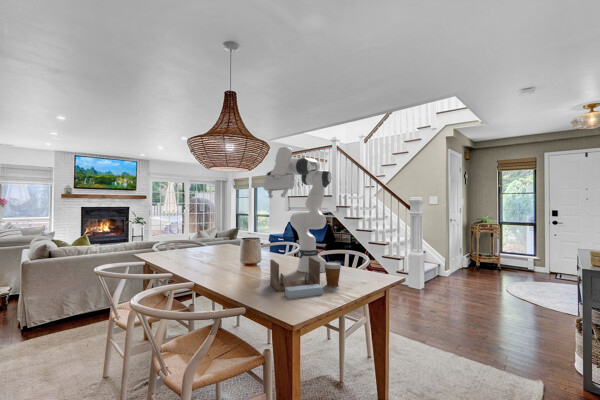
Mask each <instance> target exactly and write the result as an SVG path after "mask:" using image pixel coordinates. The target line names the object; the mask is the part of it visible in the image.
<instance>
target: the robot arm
mask: <svg viewBox="0 0 600 400" xmlns="http://www.w3.org/2000/svg"><path fill="white" fill-rule="evenodd" d="M292 151H293V150H292V149H291V148H290V147H286V146H284V147H280V148H278V149H277V152H276V156H275V160H274V161H275V164H274V166H273V169H271V170H270V171H268V172H266V173H265V177H266V178H264V182H263V189H264V191H266V192H267V194H268V199H273V194H272V193H273V192H274V191H282V193H281V195H280V197H281V198H286V194H287V193H288V191H289V190H293V189H294V187H295V176H301V177H300V178H301V179H300V180H301V182H302V184H303V185H304V186H305V185H306V186H312V187H311V189H310V190H309V192H308V194H307V198H306V201H305V203H304V205H305V208H306V209H307V212H301V211H300V212H296V213H292V214H291V216H290V218H289V222H290V225H291V226H292V228H293V229H294V230H295V231H296V232H297V236H298V243H299V249H298V264H297V268H296V270H297V272H300V273H304V272H307V273H309V257H311V258H313V259H315V260H317V261H319V262H320V273H324V272H325V266H324V265H325V263H326V262H327V261H326V259H324V258H323V257H322V256H321V255H319V254H321V253H322V251H321V250H319V249H317V244H316V243H317V239H316V236H314V235H313V234H312V233H311V232H310V230H321V229H324V227H325V226H326V225H327V218H326V216H325V214H324V213H322V204H323V201H324V197H325V188H327V187H328V186H329V185H330V183H331V181H332V178H333V177H332V173H331V171H330V170H327V169H320V167H321V166H320V163H319V160H317V159H314V158H311V157H302V158H301V157H300V158H293V157H292ZM325 273H326V272H325Z"/></svg>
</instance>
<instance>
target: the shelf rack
mask: <svg viewBox="0 0 600 400" xmlns="http://www.w3.org/2000/svg"><path fill="white" fill-rule="evenodd" d="M269 263H270V265H269V267H270V268H269V269H270V270H269V271H270V272H269V276H270V278H269V283H270V286H271V287H272V289H273V290H274V291H275V292H276V293H281V292H285V287H294V286H304V285H313V284H319V285H320V284H321V272H320V262H319V261H317V260H315V259H313V258H311V257H309V273H307V272H303V273H304V274H303V275H304V278H303V279H296V280H286V281H285V274H283V273H280V264H279V263H278V262H276V261H275V260H274V259H270V260H269ZM320 286H321V285H320Z"/></svg>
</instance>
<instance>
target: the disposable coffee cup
mask: <svg viewBox="0 0 600 400" xmlns="http://www.w3.org/2000/svg"><path fill="white" fill-rule="evenodd" d="M324 266H325V279H326V285H327V286H328V287H338V286H339V282H340V275H341V267H342V264H341V262H338V261H328V262H327V261H326V263H325V265H324Z"/></svg>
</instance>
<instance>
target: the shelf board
mask: <svg viewBox="0 0 600 400" xmlns="http://www.w3.org/2000/svg"><path fill="white" fill-rule="evenodd" d="M323 293H324V287H323V286H322V285H319V284H313V285H304V286H294V287H285V291H284V296H286V297H287V299H289V300H290V299H297V298H305V297H312V296H321V295H323Z"/></svg>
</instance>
